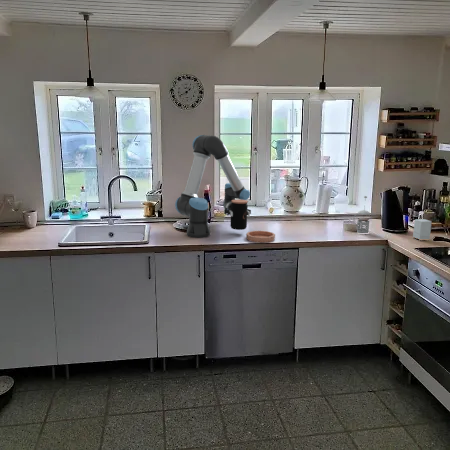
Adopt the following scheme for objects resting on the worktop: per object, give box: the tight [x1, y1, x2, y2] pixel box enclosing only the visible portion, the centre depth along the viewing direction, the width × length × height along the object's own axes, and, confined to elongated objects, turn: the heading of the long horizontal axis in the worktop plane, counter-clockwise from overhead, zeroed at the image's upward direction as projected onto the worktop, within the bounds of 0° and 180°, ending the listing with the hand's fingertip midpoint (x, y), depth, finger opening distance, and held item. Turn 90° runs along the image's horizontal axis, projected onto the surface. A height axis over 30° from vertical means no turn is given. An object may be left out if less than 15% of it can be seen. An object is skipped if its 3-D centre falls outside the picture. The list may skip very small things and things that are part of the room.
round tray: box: [245, 230, 276, 243], centre depth 272 cm, size 17×17×3 cm
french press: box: [352, 195, 371, 233], centre depth 290 cm, size 10×12×25 cm
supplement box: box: [412, 218, 433, 240], centre depth 275 cm, size 7×7×13 cm
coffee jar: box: [230, 199, 248, 231], centre depth 281 cm, size 11×11×18 cm
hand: (240, 214), depth 276 cm, fingers closed on coffee jar, 11 cm apart
